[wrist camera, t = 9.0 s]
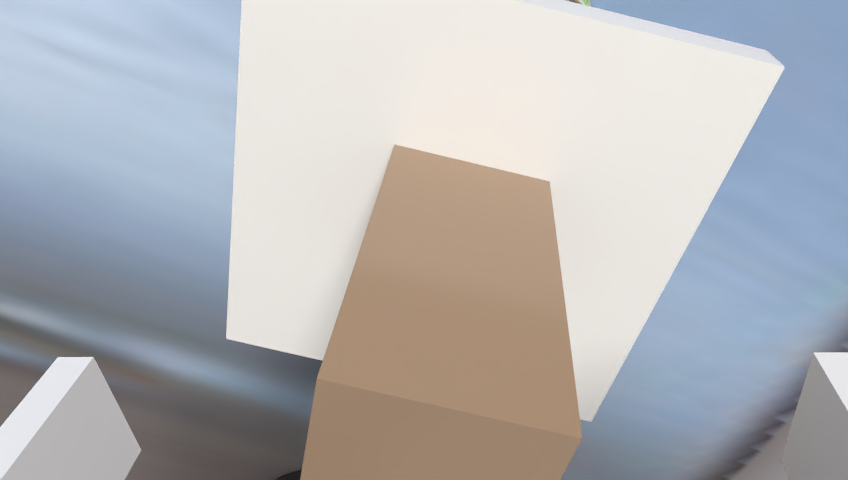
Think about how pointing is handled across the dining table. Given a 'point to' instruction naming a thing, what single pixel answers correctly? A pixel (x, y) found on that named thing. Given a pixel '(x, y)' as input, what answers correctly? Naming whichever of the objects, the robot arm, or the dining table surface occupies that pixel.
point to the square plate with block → (468, 215)
